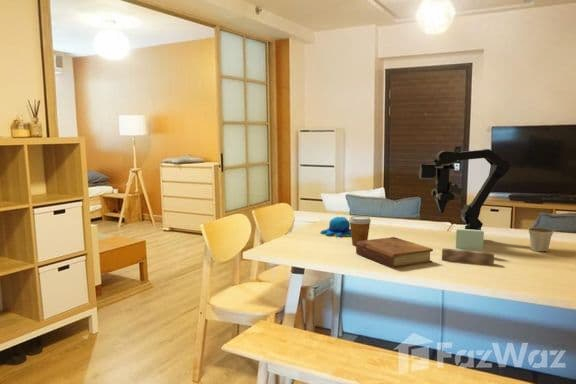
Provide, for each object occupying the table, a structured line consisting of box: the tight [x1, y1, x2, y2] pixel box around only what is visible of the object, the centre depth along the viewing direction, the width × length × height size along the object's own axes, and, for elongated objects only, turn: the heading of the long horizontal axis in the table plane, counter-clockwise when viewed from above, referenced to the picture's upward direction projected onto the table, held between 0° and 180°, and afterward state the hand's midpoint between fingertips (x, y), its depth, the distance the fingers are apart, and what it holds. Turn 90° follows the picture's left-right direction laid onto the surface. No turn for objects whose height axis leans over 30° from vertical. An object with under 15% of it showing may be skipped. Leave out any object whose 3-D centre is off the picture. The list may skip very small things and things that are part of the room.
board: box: [441, 247, 495, 266], centre depth 172 cm, size 18×2×4 cm, turn 66°
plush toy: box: [320, 216, 351, 238], centre depth 224 cm, size 17×17×8 cm
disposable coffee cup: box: [348, 215, 372, 247], centre depth 200 cm, size 10×10×12 cm
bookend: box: [455, 228, 485, 252], centre depth 178 cm, size 12×10×10 cm
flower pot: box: [527, 227, 555, 252], centre depth 188 cm, size 9×9×9 cm
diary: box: [355, 236, 434, 269], centre depth 178 cm, size 23×19×6 cm
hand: (441, 213), depth 209 cm, fingers closed
